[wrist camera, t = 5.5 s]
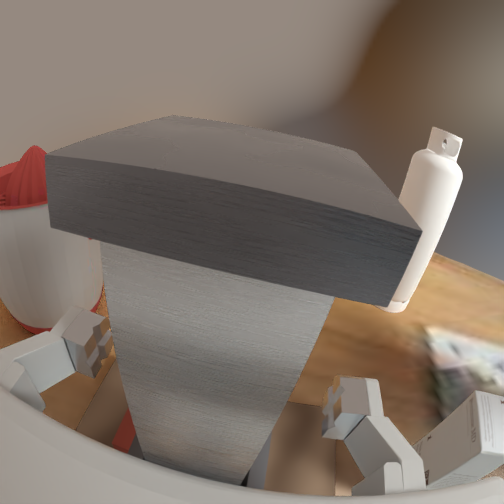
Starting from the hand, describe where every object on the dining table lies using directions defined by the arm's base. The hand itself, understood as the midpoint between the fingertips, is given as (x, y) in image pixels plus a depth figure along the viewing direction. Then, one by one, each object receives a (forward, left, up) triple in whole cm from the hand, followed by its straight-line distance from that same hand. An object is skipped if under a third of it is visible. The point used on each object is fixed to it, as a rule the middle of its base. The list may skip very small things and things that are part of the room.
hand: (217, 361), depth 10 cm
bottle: (-22, -34, -18) cm, 45 cm away
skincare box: (-20, -2, -18) cm, 27 cm away
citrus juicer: (+22, -15, -18) cm, 32 cm away
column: (0, +1, -16) cm, 16 cm away
